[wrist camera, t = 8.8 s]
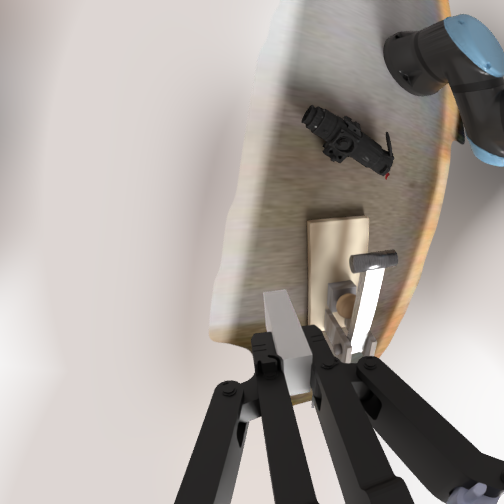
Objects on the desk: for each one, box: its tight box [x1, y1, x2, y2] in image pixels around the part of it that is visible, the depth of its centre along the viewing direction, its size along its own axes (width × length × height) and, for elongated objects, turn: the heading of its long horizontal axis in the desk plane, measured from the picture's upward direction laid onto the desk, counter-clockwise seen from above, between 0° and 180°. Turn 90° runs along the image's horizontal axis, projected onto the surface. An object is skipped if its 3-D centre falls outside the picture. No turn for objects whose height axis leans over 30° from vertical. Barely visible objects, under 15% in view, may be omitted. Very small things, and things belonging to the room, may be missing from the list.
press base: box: [307, 215, 377, 363], centre depth 47 cm, size 12×24×15 cm, turn 5°
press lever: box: [347, 250, 398, 353], centre depth 42 cm, size 7×21×3 cm, turn 5°
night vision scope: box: [302, 105, 394, 180], centre depth 42 cm, size 8×18×10 cm
